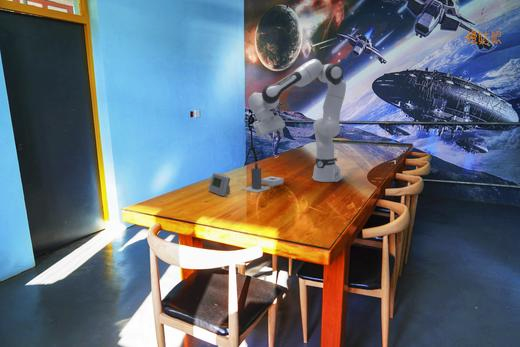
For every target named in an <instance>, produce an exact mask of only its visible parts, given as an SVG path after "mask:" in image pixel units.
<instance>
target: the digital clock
mask: <svg viewBox="0 0 520 347" xmlns="http://www.w3.org/2000/svg"><path fill="white" fill-rule="evenodd" d="M211 175H212V176H211V179H210V183H209V187H208V191H209V192H212V193H213V194H215V195H218V196H222V197H225V196H227V195H230V194H231V187H230V185H229V184H230V181H231V178H230V177H229V176H227V175H224V174H221V173H217V172H213V173H212V174H211Z"/></svg>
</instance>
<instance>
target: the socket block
mask: <svg viewBox="0 0 520 347" xmlns="http://www.w3.org/2000/svg"><path fill="white" fill-rule="evenodd" d="M284 181H285V180H284V178H283V177H278V176H277V177H276V176H271V175H270V176H267V177H264V178H261V185H265V186H268V187H276V186H279V185H283V184H284Z"/></svg>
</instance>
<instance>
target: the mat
mask: <svg viewBox="0 0 520 347" xmlns="http://www.w3.org/2000/svg"><path fill="white" fill-rule="evenodd" d="M241 189H242V190H244V191H247V192H252V193H256V194H257V193H258V194H259V193H261V192H264V191H265V192H266V191H267V190H270V189H271V187H270V186H262V185H261V188H260V189H257V190H256V189H252V185H251V186H247V187H243V188H241Z"/></svg>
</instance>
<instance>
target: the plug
mask: <svg viewBox="0 0 520 347" xmlns="http://www.w3.org/2000/svg"><path fill="white" fill-rule="evenodd" d="M258 166H259V165H258V163H257V162H255V163H254V167H252V168H251V169H250V170H251V186H252V189H256V190H257V189H260V188H261V186H262V184H261V179H262V168H261V167H258Z"/></svg>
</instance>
